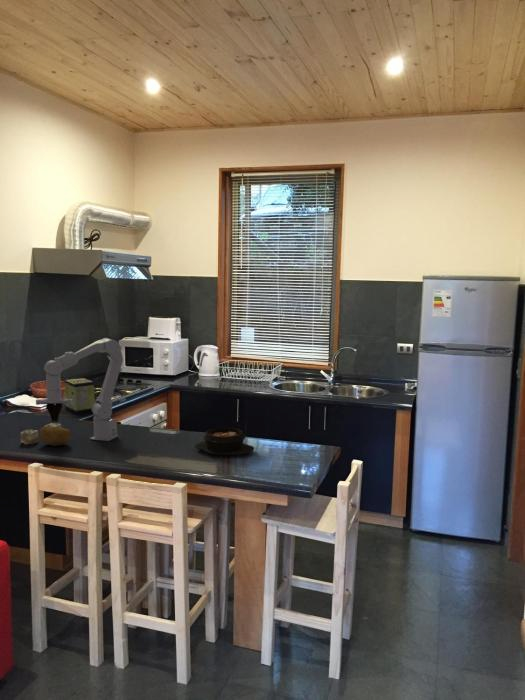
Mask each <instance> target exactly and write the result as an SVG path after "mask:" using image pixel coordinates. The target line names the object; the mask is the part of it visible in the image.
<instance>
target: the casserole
mask: <svg viewBox="0 0 525 700" xmlns="http://www.w3.org/2000/svg"><path fill="white" fill-rule="evenodd" d="M243 432H244V431H243V430H241V429H239V428H236V427H229V426H228V427H227V426H226V427H215V428H211V429H208V430H207V431H205V434H204V436H203V439H204V440H203V441H200V442H198V443H196V444H195V445H194V448H195V449H197V450H200V451H203V452H205V453H208V454H211V455H215V456H223V457H225V456H232V455H236V456H242V455H247V454H250V453H251V452H254V450H255V446H252V445H251V444H247V443H245V442H244V440H245V439H246V436H245V434H244V433H243Z"/></svg>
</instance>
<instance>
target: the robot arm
mask: <svg viewBox="0 0 525 700" xmlns="http://www.w3.org/2000/svg"><path fill="white" fill-rule="evenodd" d="M95 353H103V354H104V355H106V357H107V358H108V361H109V364H108V365H107V370H106V373H105V377H104V380H103V383H102V385H101V389H100V393H99V395H98V396H97V397H96V399H95V403H94V404H93V405H92V411H91V413H92V414H93V420H92V421H93V436H92V437H89V440H94V441H104V442H105V441H107V442H109V441H112V440H114V439H115V438H118V437H119V435H118V427H117V426H118V425H117V420H116V419H114V418H111V416H112V414H113V408H112V407H113V399H112V397H113V394H114V391H115V389H116V385H117V382H118V378H119V375H120V372H121V369H122V368H121V367H122V365H123V362H124V359H123V353H122V346H121V345H120V344H119V341H117V340H115V339H111V338H109V337H104V338H102V339H99V340H96V341H94V342H92V343H91V344H89V345H87V346H85V347H83V348H81V349H79V350H78V351H76V352H73V351H66V352H64V354H62V355H61V356H58V357H54V358H53V359H54V360H53V359H52V360H48V361H47V362H45V364H44V367H43V370H44V372H45V384H46V385H45V386H46V387H45V388H46V389H45V390H46V398H41V399H40V398H39V399H36V400H35V405H36V406H39V405H45V409H46V410H47V411H48V415H49V416H50V419H51V423H54V422H55V423H56V422H58V421H59V419H60V418H59V417H60V414H61V410H62V408H63V405H65V404H69V405H71V404H73V399H65V398H62V380H61V378H62V377H61V373H62V371H65V370H67V369H69V368H71V367H74V366H75V365H77V364H78V362H79V360H81V359H84V358H85V357H88V356H90V355H92V354H95Z"/></svg>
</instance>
